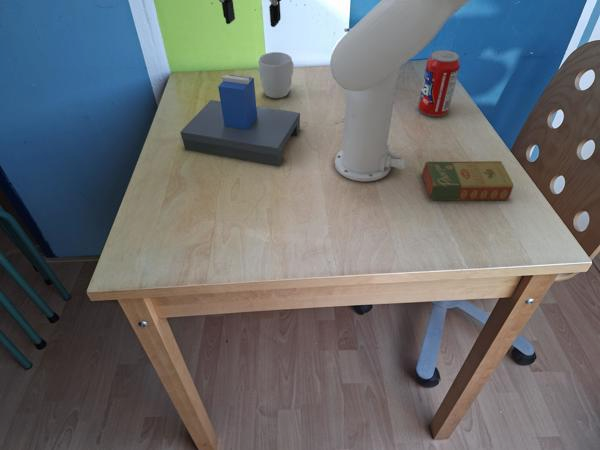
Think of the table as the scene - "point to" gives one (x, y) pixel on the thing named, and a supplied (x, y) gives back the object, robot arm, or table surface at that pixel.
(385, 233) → the table surface
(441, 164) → the carton
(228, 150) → the riser board
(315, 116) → the table surface
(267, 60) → the mug
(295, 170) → the table surface
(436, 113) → the soda can
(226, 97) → the blue milk carton
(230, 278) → the table surface
